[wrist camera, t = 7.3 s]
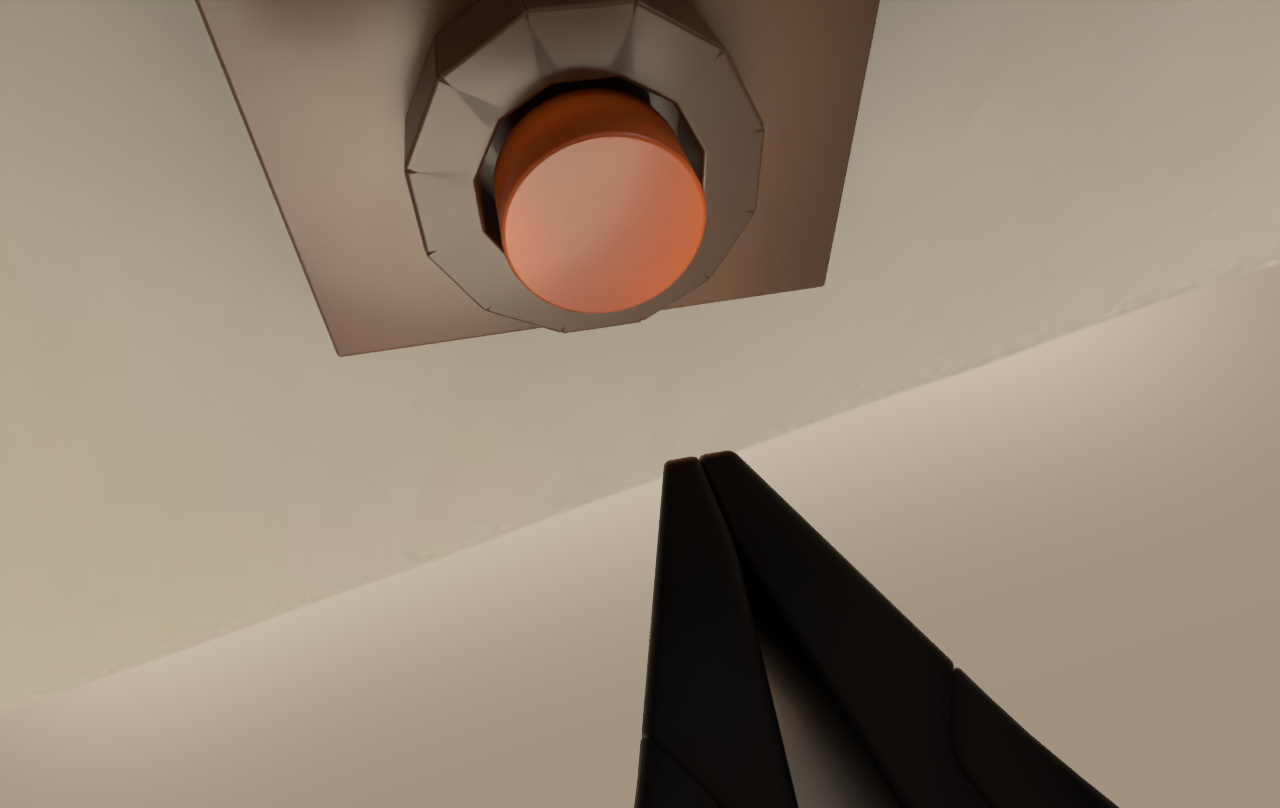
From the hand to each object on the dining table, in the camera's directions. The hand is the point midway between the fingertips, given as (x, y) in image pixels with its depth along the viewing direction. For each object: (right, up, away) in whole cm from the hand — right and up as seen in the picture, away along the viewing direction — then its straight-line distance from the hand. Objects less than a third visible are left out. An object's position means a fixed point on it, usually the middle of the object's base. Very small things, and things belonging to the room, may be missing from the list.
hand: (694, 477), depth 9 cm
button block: (-2, +7, +7) cm, 11 cm away
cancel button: (-2, +5, +5) cm, 7 cm away
